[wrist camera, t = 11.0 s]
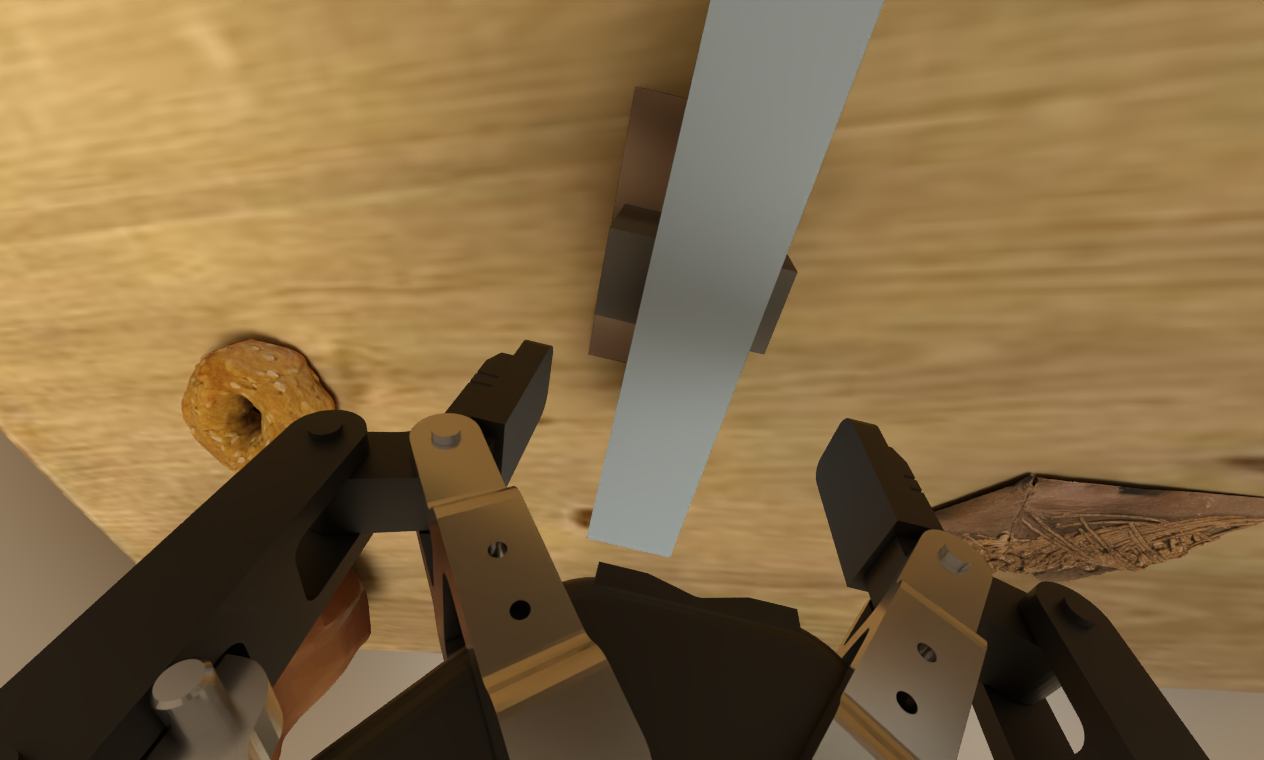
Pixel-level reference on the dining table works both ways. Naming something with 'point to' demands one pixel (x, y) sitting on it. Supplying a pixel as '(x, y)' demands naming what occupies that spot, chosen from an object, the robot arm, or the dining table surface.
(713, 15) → the batten
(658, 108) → the ridge stand
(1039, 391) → the dining table surface
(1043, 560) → the wooden fragment
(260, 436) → the bagel
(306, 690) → the butternut squash
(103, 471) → the dining table surface
